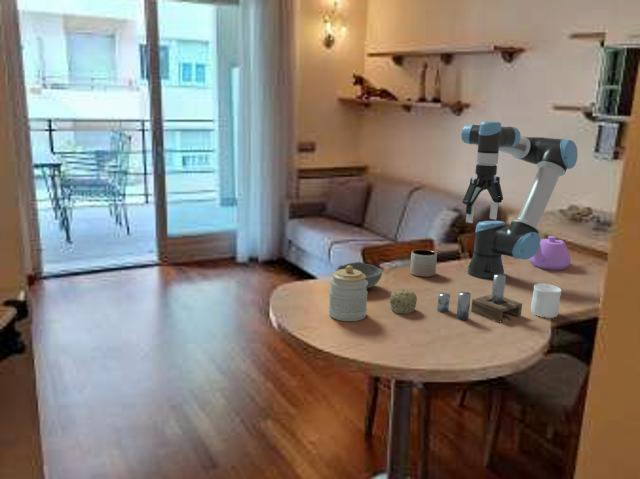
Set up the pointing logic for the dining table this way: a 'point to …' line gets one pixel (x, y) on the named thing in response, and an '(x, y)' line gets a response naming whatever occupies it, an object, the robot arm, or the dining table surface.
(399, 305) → the decorative item
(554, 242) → the teapot
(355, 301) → the jar
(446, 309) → the short pin
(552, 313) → the cup
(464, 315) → the medium pin
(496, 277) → the long pin
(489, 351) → the dining table surface
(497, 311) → the block
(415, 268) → the planter
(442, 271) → the dining table surface
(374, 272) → the bowl
